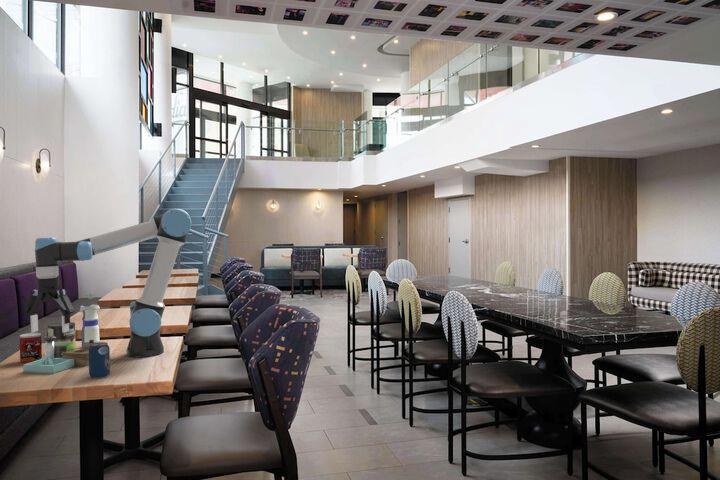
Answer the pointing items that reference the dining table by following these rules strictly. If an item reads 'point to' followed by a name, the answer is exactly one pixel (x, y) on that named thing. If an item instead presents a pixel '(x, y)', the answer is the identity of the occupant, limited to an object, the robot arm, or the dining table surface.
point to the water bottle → (90, 322)
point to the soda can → (99, 360)
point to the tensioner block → (80, 354)
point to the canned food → (30, 347)
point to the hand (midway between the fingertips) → (50, 331)
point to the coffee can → (62, 338)
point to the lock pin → (49, 349)
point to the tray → (48, 366)
